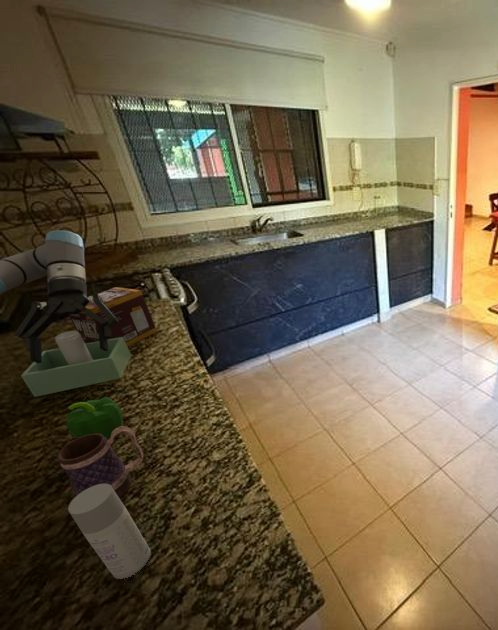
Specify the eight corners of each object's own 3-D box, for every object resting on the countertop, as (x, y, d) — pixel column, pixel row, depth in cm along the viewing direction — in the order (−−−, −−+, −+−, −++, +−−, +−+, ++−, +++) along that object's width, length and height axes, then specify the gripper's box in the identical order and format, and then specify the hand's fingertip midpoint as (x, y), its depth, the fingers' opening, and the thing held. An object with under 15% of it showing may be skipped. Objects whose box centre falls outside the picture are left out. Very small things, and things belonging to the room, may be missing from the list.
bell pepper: (135, 418, 80) (118, 383, 75) (122, 444, 73) (102, 407, 68) (90, 427, 77) (70, 392, 73) (72, 455, 70) (48, 418, 66)
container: (111, 587, 49) (63, 522, 43) (113, 558, 53) (69, 494, 46) (151, 566, 52) (112, 501, 45) (151, 540, 55) (114, 476, 48)
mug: (84, 518, 58) (51, 469, 53) (82, 491, 63) (51, 443, 58) (156, 482, 65) (133, 435, 59) (150, 459, 69) (127, 414, 64)
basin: (34, 397, 86) (20, 375, 83) (54, 370, 96) (43, 351, 93) (121, 378, 93) (111, 358, 90) (131, 355, 103) (123, 336, 101)
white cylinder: (74, 380, 92) (53, 341, 86) (75, 371, 95) (55, 334, 90) (97, 373, 94) (78, 335, 89) (98, 365, 98) (79, 328, 92)
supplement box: (85, 351, 106) (62, 305, 99) (133, 328, 119) (116, 286, 112) (111, 355, 103) (89, 309, 96) (157, 331, 117) (141, 289, 110)
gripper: (-6, 284, 87) (-7, 363, 81) (117, 270, 97) (124, 340, 91) (15, 295, 93) (16, 370, 88) (128, 282, 103) (135, 348, 98)
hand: (71, 355), depth 90 cm, fingers open, 13 cm apart
